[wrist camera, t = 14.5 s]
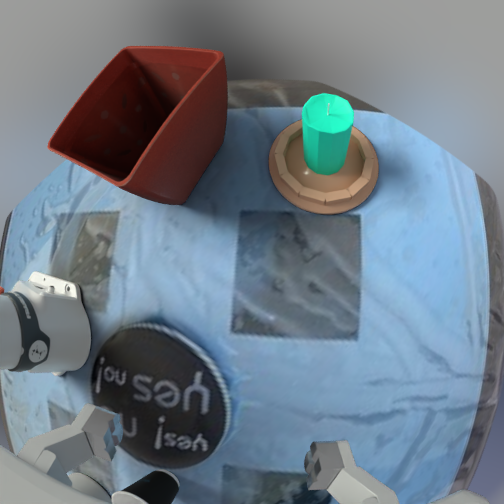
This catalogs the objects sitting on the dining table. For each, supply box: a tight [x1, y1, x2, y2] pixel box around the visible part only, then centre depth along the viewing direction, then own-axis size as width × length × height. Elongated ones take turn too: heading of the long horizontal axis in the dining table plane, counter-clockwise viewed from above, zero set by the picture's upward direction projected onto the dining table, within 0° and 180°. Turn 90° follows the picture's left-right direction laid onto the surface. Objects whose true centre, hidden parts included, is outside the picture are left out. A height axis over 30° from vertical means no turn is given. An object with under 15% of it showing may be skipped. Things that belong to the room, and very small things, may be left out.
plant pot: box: [48, 46, 228, 205], centre depth 35 cm, size 19×19×17 cm
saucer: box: [269, 119, 379, 215], centre depth 38 cm, size 16×16×2 cm
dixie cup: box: [111, 469, 180, 504], centre depth 28 cm, size 8×8×11 cm
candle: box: [302, 93, 354, 175], centre depth 32 cm, size 6×6×12 cm
